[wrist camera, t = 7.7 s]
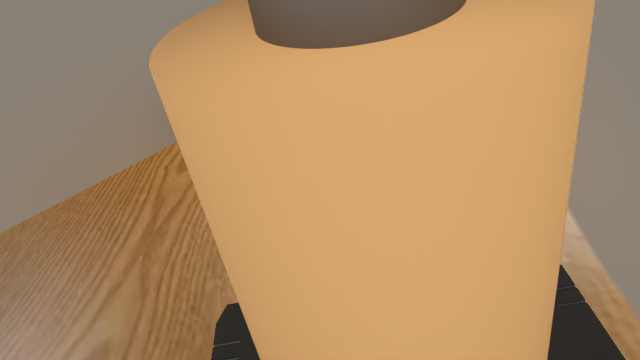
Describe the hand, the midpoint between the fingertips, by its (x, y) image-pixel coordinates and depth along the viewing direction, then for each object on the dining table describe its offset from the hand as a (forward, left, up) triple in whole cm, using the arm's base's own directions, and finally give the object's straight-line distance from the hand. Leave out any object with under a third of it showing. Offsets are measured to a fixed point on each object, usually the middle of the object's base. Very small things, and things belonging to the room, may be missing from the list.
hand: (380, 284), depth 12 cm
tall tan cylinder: (+2, -1, -11) cm, 11 cm away
